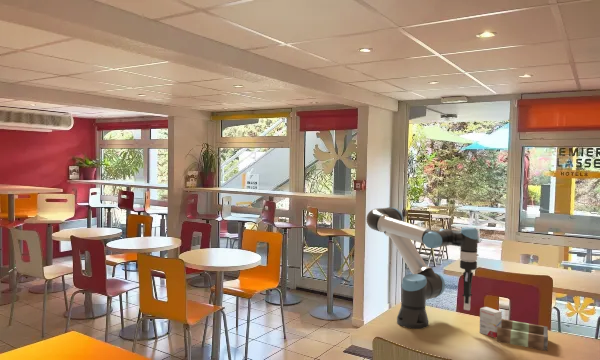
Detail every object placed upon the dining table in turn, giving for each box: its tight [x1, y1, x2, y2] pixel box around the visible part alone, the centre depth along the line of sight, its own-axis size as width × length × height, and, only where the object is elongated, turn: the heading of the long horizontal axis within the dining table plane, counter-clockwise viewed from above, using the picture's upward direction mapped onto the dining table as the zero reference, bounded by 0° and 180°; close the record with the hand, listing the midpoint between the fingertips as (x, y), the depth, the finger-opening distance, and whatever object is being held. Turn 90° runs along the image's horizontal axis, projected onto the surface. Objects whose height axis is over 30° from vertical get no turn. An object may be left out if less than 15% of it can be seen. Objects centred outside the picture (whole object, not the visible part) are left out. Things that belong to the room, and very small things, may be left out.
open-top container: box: [496, 318, 549, 352], centre depth 209 cm, size 20×15×6 cm
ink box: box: [479, 306, 503, 339], centre depth 215 cm, size 9×5×12 cm, turn 33°
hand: (466, 309), depth 220 cm, fingers closed
